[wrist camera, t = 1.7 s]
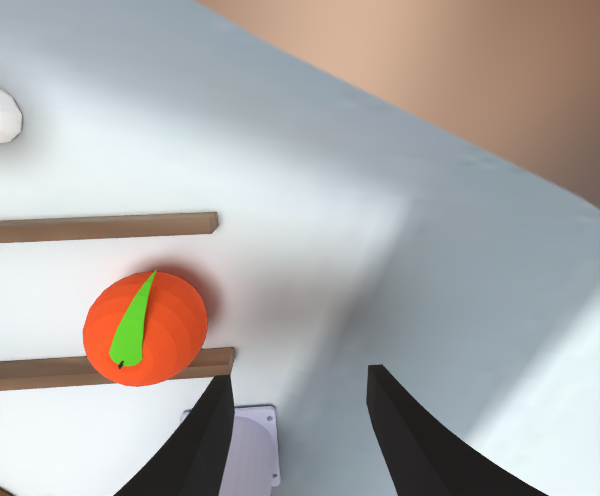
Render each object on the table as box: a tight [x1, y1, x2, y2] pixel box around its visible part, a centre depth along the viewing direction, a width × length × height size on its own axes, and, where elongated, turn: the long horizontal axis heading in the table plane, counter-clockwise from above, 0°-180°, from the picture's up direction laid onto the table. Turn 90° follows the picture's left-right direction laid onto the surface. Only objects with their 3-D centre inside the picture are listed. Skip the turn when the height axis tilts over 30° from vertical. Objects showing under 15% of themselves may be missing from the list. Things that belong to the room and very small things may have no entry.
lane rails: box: [0, 212, 234, 391], centre depth 20 cm, size 12×22×2 cm, turn 92°
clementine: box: [83, 269, 208, 387], centre depth 18 cm, size 8×7×7 cm
